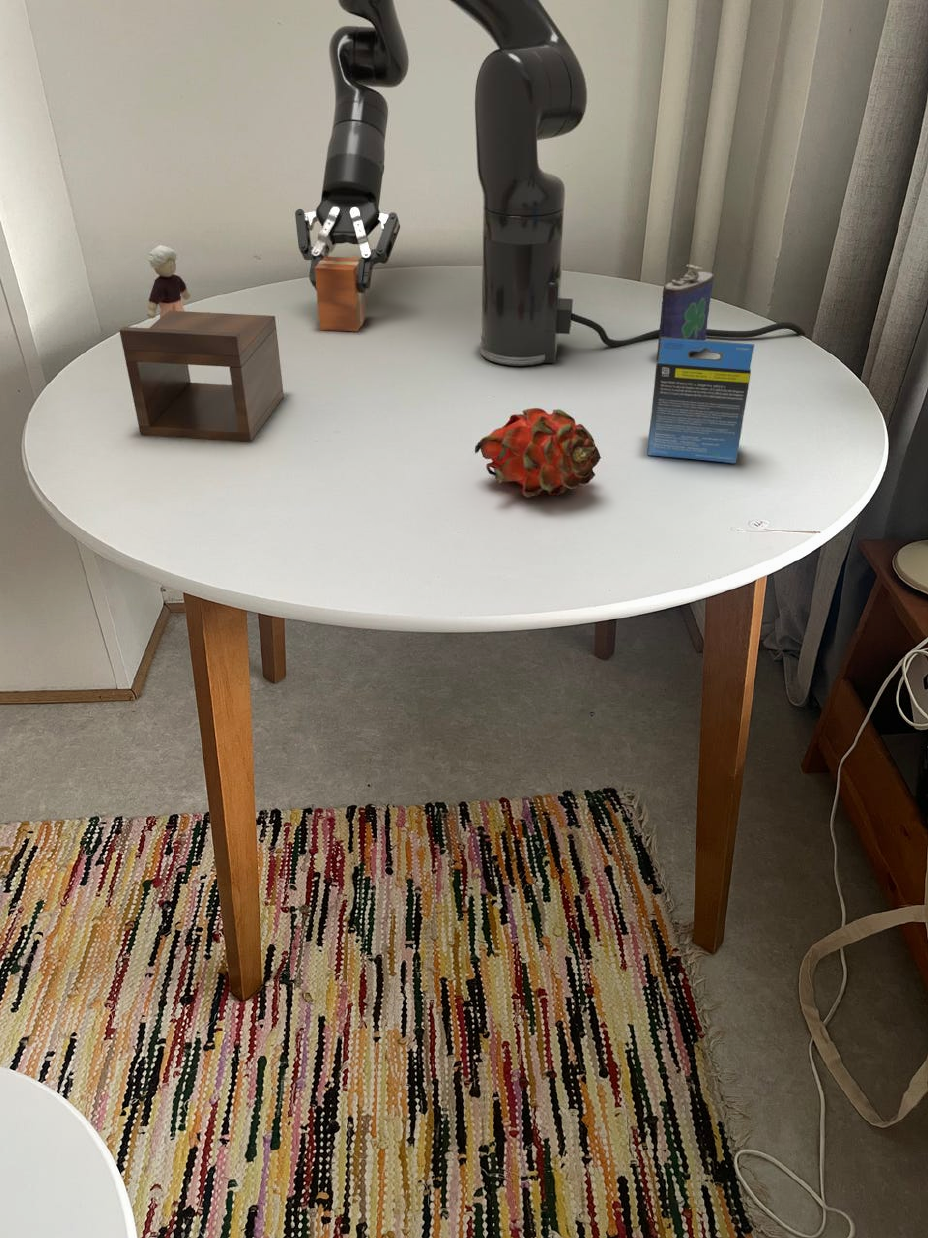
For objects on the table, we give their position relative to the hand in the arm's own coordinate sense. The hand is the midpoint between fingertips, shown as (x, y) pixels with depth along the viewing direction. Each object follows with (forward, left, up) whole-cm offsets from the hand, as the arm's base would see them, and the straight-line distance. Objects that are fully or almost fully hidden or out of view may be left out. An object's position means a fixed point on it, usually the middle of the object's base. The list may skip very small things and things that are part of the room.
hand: (339, 288), depth 128 cm
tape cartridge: (-44, +31, -5) cm, 54 cm away
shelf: (+7, +29, -5) cm, 30 cm away
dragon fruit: (-29, +41, -5) cm, 51 cm away
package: (0, -1, -5) cm, 5 cm away
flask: (-44, +3, -5) cm, 44 cm away
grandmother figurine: (+18, +11, -5) cm, 22 cm away
